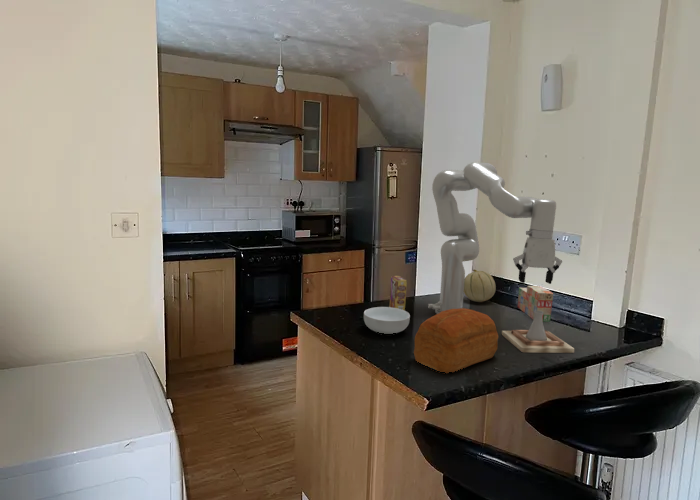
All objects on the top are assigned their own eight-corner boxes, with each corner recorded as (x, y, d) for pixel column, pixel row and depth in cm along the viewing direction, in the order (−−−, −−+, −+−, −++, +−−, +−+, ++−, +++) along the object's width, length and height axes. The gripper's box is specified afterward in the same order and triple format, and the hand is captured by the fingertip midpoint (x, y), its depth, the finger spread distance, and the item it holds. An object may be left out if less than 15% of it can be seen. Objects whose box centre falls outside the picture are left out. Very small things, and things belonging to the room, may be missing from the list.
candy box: (405, 316, 197) (407, 280, 195) (395, 317, 196) (397, 280, 194) (398, 310, 206) (400, 275, 204) (388, 310, 205) (390, 275, 203)
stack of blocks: (516, 307, 219) (519, 280, 217) (530, 307, 219) (533, 281, 217) (535, 321, 198) (538, 292, 196) (550, 322, 198) (553, 292, 196)
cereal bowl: (353, 330, 178) (354, 312, 176) (382, 321, 190) (383, 304, 189) (390, 342, 166) (391, 323, 165) (418, 332, 178) (419, 314, 177)
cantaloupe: (495, 307, 217) (497, 274, 215) (461, 303, 221) (464, 271, 218) (493, 299, 232) (495, 268, 229) (461, 296, 235) (464, 266, 233)
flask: (546, 337, 173) (549, 310, 172) (547, 343, 167) (550, 315, 165) (524, 334, 176) (527, 307, 174) (525, 340, 169) (528, 313, 167)
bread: (501, 357, 156) (505, 310, 154) (449, 378, 139) (453, 325, 137) (460, 343, 168) (463, 299, 166) (408, 360, 151) (411, 311, 149)
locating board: (522, 352, 162) (522, 344, 161) (501, 334, 179) (502, 327, 179) (574, 352, 163) (574, 345, 163) (548, 335, 181) (549, 328, 180)
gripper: (521, 235, 164) (515, 284, 167) (570, 237, 166) (563, 286, 169) (512, 232, 172) (507, 279, 175) (559, 234, 173) (553, 280, 176)
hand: (535, 282), depth 172 cm, fingers open, 9 cm apart
